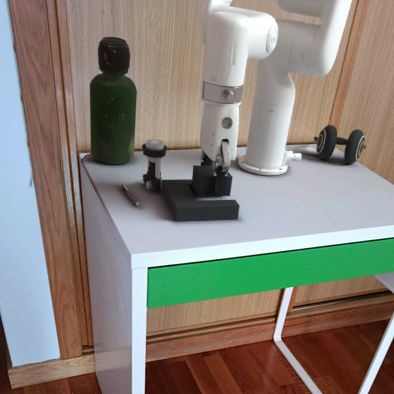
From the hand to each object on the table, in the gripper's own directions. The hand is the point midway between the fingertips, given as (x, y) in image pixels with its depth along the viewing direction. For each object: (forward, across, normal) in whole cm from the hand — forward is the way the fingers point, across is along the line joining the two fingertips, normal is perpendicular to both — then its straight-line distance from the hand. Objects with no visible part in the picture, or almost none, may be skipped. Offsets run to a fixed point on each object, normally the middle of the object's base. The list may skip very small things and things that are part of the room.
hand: (211, 186), depth 103 cm
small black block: (+1, 0, 0) cm, 1 cm away
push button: (+4, +10, +10) cm, 15 cm away
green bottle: (+4, +29, +17) cm, 33 cm away
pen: (+4, +6, +16) cm, 18 cm away
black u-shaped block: (+4, 0, +2) cm, 5 cm away
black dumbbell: (-1, +22, -42) cm, 47 cm away
